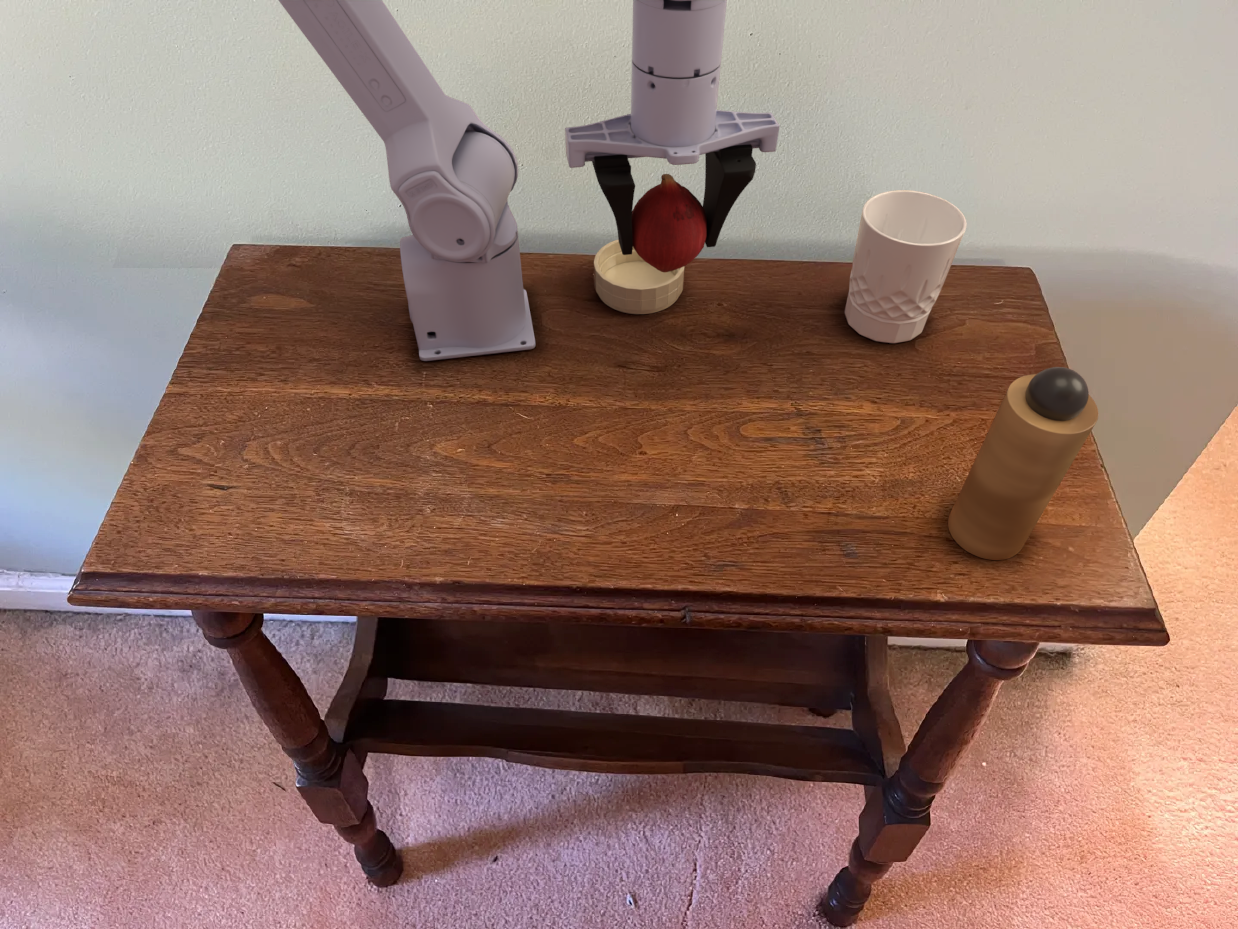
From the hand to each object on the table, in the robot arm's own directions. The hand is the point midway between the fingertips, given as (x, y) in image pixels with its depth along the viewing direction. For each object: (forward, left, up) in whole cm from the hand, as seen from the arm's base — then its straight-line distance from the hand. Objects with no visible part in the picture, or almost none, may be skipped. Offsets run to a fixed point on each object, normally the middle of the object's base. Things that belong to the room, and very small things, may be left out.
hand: (666, 243), depth 64 cm
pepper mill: (+18, -24, -9) cm, 31 cm away
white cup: (+20, -1, -10) cm, 22 cm away
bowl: (0, +7, -9) cm, 12 cm away
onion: (0, 0, -3) cm, 3 cm away
